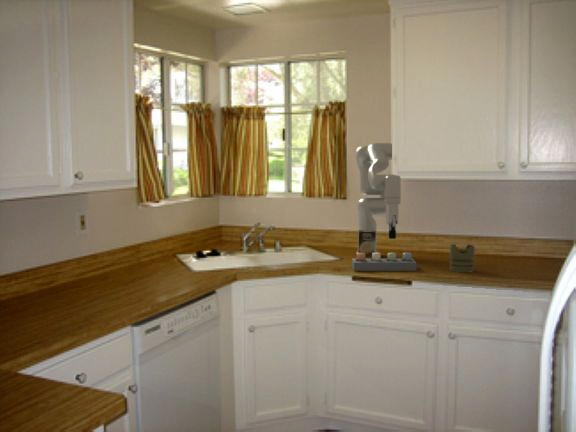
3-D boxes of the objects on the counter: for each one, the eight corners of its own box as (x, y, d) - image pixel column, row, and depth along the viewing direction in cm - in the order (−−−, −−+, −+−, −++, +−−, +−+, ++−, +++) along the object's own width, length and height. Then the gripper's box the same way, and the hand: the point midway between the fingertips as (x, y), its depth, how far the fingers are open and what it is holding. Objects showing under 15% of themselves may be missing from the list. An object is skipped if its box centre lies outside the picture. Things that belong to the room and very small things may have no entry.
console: (351, 266, 311) (351, 258, 311) (411, 266, 311) (411, 258, 311) (353, 270, 300) (354, 262, 299) (416, 270, 299) (416, 262, 299)
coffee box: (357, 262, 323) (357, 231, 321) (357, 260, 329) (357, 229, 327) (375, 262, 322) (375, 231, 320) (375, 260, 328) (375, 230, 326)
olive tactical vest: (476, 247, 292) (451, 247, 294) (475, 273, 294) (450, 272, 295) (473, 244, 303) (449, 243, 305) (472, 268, 305) (448, 267, 306)
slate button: (402, 261, 307) (402, 252, 306) (410, 261, 307) (410, 252, 306) (403, 262, 303) (403, 253, 302) (411, 262, 303) (412, 253, 302)
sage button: (387, 261, 307) (387, 252, 307) (395, 261, 307) (395, 252, 306) (388, 262, 303) (388, 253, 303) (396, 262, 303) (396, 253, 303)
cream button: (371, 261, 307) (371, 252, 307) (379, 261, 307) (380, 252, 307) (372, 262, 303) (372, 253, 303) (381, 262, 303) (381, 254, 303)
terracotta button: (356, 261, 307) (356, 252, 307) (364, 261, 307) (364, 252, 307) (357, 262, 303) (357, 254, 303) (365, 262, 303) (365, 254, 303)
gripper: (382, 199, 309) (382, 236, 311) (387, 201, 294) (386, 240, 296) (397, 199, 309) (397, 236, 311) (403, 201, 294) (402, 240, 296)
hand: (392, 238), depth 303 cm, fingers closed
